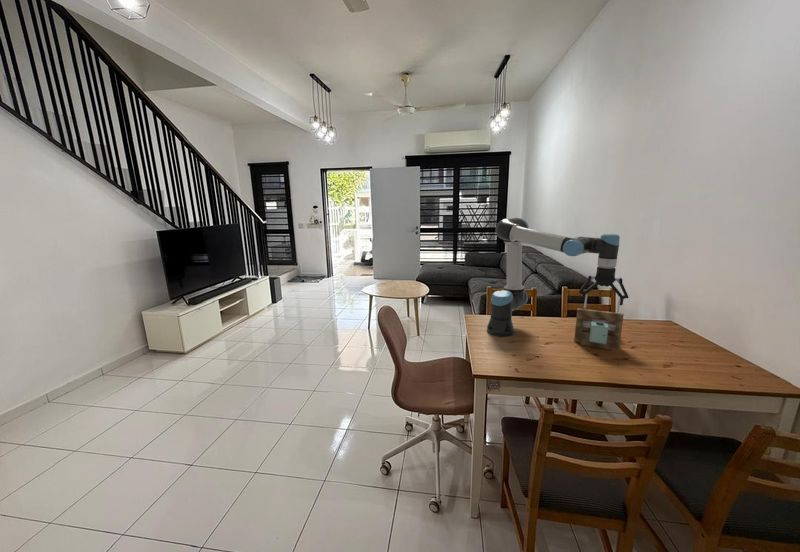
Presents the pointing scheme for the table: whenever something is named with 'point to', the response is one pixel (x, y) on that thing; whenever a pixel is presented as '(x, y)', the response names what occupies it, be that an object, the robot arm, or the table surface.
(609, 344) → the wall board
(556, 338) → the table surface
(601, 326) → the cabinet
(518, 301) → the robot arm
